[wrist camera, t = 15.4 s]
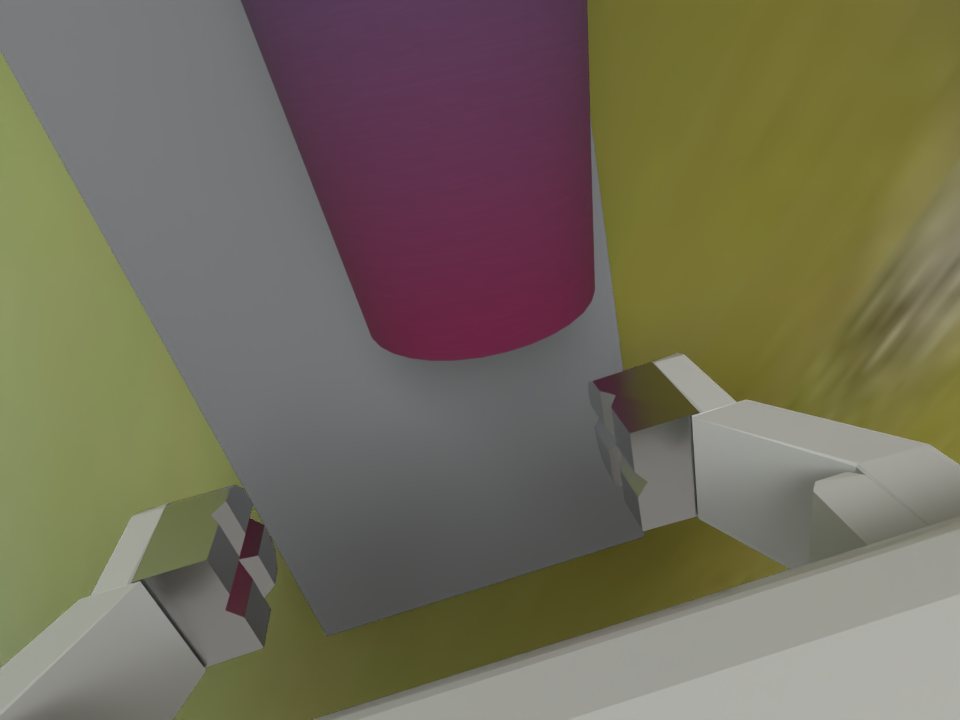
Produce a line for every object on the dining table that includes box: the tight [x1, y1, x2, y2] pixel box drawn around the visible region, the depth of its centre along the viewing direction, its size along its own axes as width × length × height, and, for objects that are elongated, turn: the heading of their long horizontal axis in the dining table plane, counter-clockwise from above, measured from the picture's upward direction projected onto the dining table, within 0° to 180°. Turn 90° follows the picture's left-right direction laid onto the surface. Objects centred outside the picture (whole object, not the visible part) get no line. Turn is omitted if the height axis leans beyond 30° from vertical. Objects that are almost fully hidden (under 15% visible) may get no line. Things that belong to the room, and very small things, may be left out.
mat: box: [0, 0, 645, 636], centre depth 17 cm, size 12×20×1 cm, turn 13°
